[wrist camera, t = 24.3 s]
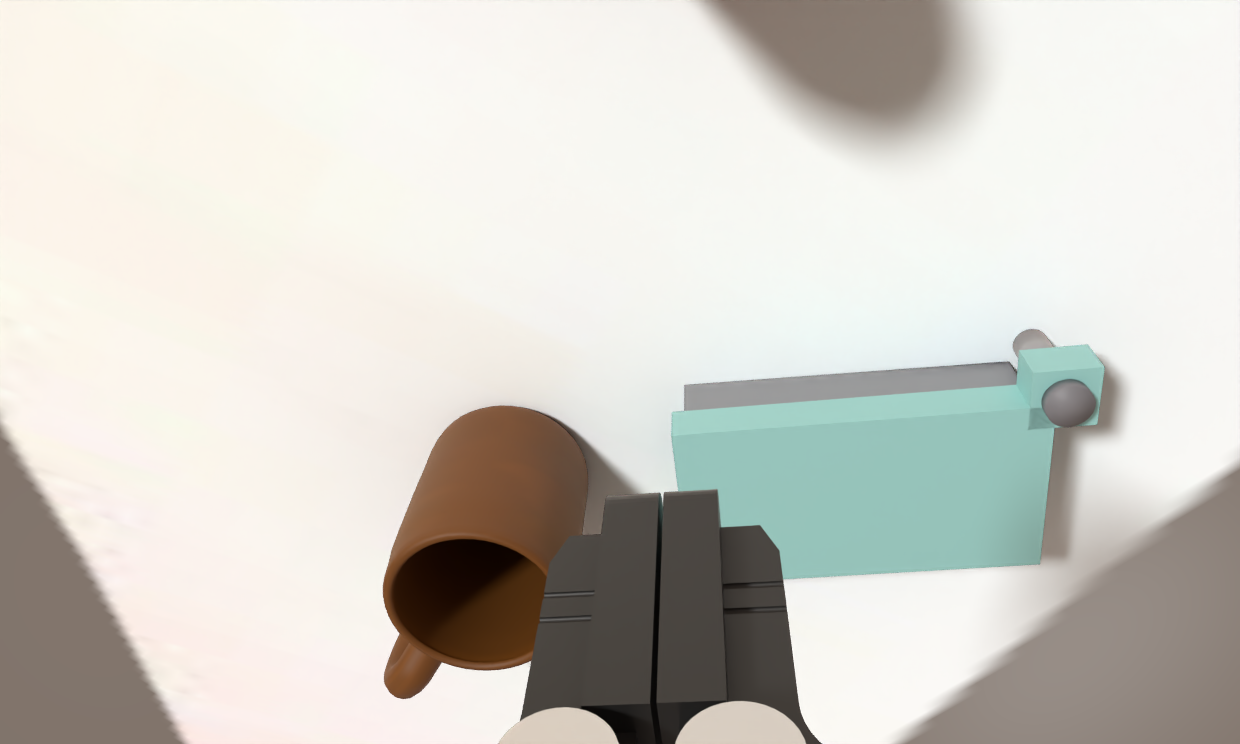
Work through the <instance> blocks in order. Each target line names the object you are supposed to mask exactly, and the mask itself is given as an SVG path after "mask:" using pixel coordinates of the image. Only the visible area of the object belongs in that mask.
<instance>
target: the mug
mask: <svg viewBox="0 0 1240 744" xmlns="http://www.w3.org/2000/svg"><path fill="white" fill-rule="evenodd" d="M587 492H588V472H587V467H586V462H585V459H584V456H583V453H582V451H581V449H580V448H579V446H578V444H577V443H576V441H575V440H574V439H573V437H572V436H571V435H570V434H569V433H568V432H567V431H566V430H565V429H564V428H563V427H561V426H560V425H559V424H558V423H556V422H555V421H553V420H552V419H550V418H549V417H547V416H545V415H543V414H541V413H538V412H535V411H533V410H530V409H526V408H522V407H515V406H492V407H487V408H482V409H478V410H475V411H472V412H469V413H467V414H465V415H463V416H461V417H460V418H458V419H457V420H456V421H454V422H453V423H452V424H451V425H450V426H449V427H447V429H446V430H445V431H444V432H443V433H442V435H441V436H440V437H439V439H438V440H437V442H436V444H435V446H434V447H433V449H432V451H431V454H430V456H429V459H428V461H427V464H426V466H425V468H424V471H423V473H422V476H421V478H420V480H419V482H418V485H417V487H416V489H415V492H414V494H413V497H412V499H411V502H410V504H409V507H408V509H407V512H406V514H405V517H404V519H403V522H402V524H401V527H400V529H399V532H398V534H397V537H396V540H395V542H394V545H393V548H392V551H391V555H390V559H389V564H388V567H387V570H386V573H385V577H384V583H383V598H384V603H385V607H386V610H387V613H388V616H389V618H390V620H391V621H392V623H393V625H394V626H395V628H396V629H397V631H398V632H399V633H400V634H399V636H398V638H397V640H396V643H395V645H394V647H393V650H392V652H391V655H390V657H389V660H388V663H387V666H386V669H385V673H384V683H385V685H386V687H387V689H388V690H389V692H390V693H391V694H392V695H394V696H395V697H397V698H401V699H407V698H411V697H413V696H415V695H416V694H418V693H419V692H421V691H422V690H423V689H424V688H425V686H426V685H427V684H428V683H429V681H430V680H431V679H432V677H433V676H434V674H435V672H436V671H437V669H438V668H439V666H440V664H441V663H442V662H443V663H446V664H449V665H452V666H456V667H460V668H464V669H472V670H501V669H507V668H512V667H516V666H519V665H522V664H524V663H527V662H529V661H531V660H532V655H533V650H534V645H535V639H536V634H537V628H538V624H540V612H541V606H542V601H543V599H544V590H545V585H546V579H547V574H548V568H549V563H550V562H551V560H552V559H553V558H554V556H555V555H556V554H557V552H558V551H559V550H560V548H561V547H562V546H563V544H564V543H565V542H566V540H567V539H568V537H569V536H578V535H582V531H583V523H584V514H585V507H586V500H587Z"/></svg>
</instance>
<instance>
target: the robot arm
mask: <svg viewBox="0 0 1240 744" xmlns="http://www.w3.org/2000/svg"><path fill="white" fill-rule="evenodd" d="M498 744H822V743H820V742H819V741H818V740H817V738H816V737H815V736H814V735H813V734H812V733H811V731H810V730H809V728H808V727H807V725H806V724H805V722H804V719H803V717H802V715H801V711H800V707H799V701H798V694H797V686H796V678H795V670H794V662H793V654H792V646H791V638H790V630H789V622H788V614H787V607H786V598H785V590H784V584H783V575H782V567H781V559H780V551H779V549H778V548H777V547H776V545H775V544H774V543H773V541H772V540H771V539H770V537H769V536H768V535H767V534H766V532H765V531H764V530H763V528H762V527H761V526H760V525H753V526H735V527H721V519H720V507H719V496H718V489H710V490H694V491H677V492H664V498H663V503H662V497H661V494H660V493H648V494H631V495H615V496H607V497H606V500H605V507H604V515H603V524H602V532H601V534H596V535H578V536H569V537H568V539H567V540H566V542H565V543H564V544H563V546H562V547H561V548H560V550H559V551H558V552H557V554H556V555H555V556H554V558H553V559H552V560H551V562H550V563H549V568H548V574H547V579H546V585H545V590H544V599H543V601H542V606H541V612H540V624H538V628H537V634H536V639H535V645H534V650H533V655H532V661H531V666H530V672H529V677H528V683H527V688H526V694H525V699H524V705H523V710H522V715H521V718H520V722H518V723H517V724H515V725H514V726H513V727H512V728H511V729H510V730H508V731H507V732H506V734H505V735H504V736H503V737H502V738H501V740H500V741H499V743H498Z"/></svg>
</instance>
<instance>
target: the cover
mask: <svg viewBox="0 0 1240 744" xmlns="http://www.w3.org/2000/svg"><path fill="white" fill-rule="evenodd" d="M1104 370H1105V367H1104V365H1103V364H1102V363H1101V361H1100V360H1099V359H1098V357H1097V356H1096V355H1095V353H1094V352H1093V351H1092V349H1091V348H1090V347H1089V345H1076V346H1064V347H1052V348H1040V349H1028V350H1019V358H1018V371H1017V383H1016V385H1007V386H994V387H981V388H969V389H956V390H944V391H931V392H918V393H906V394H893V395H880V396H868V397H855V398H843V399H830V400H817V401H805V402H792V403H780V404H767V405H754V406H742V407H729V408H717V409H704V410H691V411H679V412H672V429H671V437H672V445H673V453H674V461H675V469H676V477H677V485H678V491H694V490H710V489H718V496H719V507H720V519H721V527H735V526H753V525H760V526H761V527H762V528H763V530H764V531H765V532H766V534H767V535H768V536H769V537H770V539H771V540H772V541H773V543H774V544H775V545H776V547H777V548H778V549H779V551H780V559H781V567H782V575H783V579H796V578H813V577H830V576H847V575H864V574H881V573H899V572H916V571H933V570H950V569H967V568H985V567H1002V566H1019V565H1036V564H1040V559H1041V550H1042V540H1043V531H1044V522H1045V512H1046V503H1047V494H1048V484H1049V475H1050V465H1051V456H1052V447H1053V437H1054V428H1059V427H1073V426H1086V425H1097V423H1098V415H1099V408H1100V400H1101V392H1102V385H1103V377H1104Z"/></svg>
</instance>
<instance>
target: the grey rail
mask: <svg viewBox="0 0 1240 744" xmlns="http://www.w3.org/2000/svg"><path fill="white" fill-rule="evenodd" d="M1052 347H1053V346H1052V344H1051V343H1050V341H1049V340H1048V339H1047V337H1046V336H1045V334H1044V333H1043V332H1041V331H1039V330H1036V329H1030V330H1026V331H1023V332H1021V333H1020V334H1019V335H1018V336H1017V337H1016V338H1015V340H1014V342H1013V350H1014V352H1015V354H1016V356H1017V357H1018V358H1019V350H1028V349H1040V348H1052ZM1016 383H1017V374H1016V373H1015V371H1014V369H1013V368H1012V366H1011V364H1010V363H1009V362H996V363H982V364H968V365H954V366H941V367H927V368H913V369H899V370H886V371H872V372H858V373H844V374H830V375H817V376H803V377H789V378H775V379H762V380H748V381H734V382H720V383H706V384H693V385H684V411H691V410H704V409H717V408H729V407H742V406H754V405H767V404H780V403H792V402H805V401H817V400H830V399H843V398H855V397H868V396H880V395H893V394H906V393H918V392H931V391H944V390H956V389H969V388H981V387H994V386H1007V385H1016Z"/></svg>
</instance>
